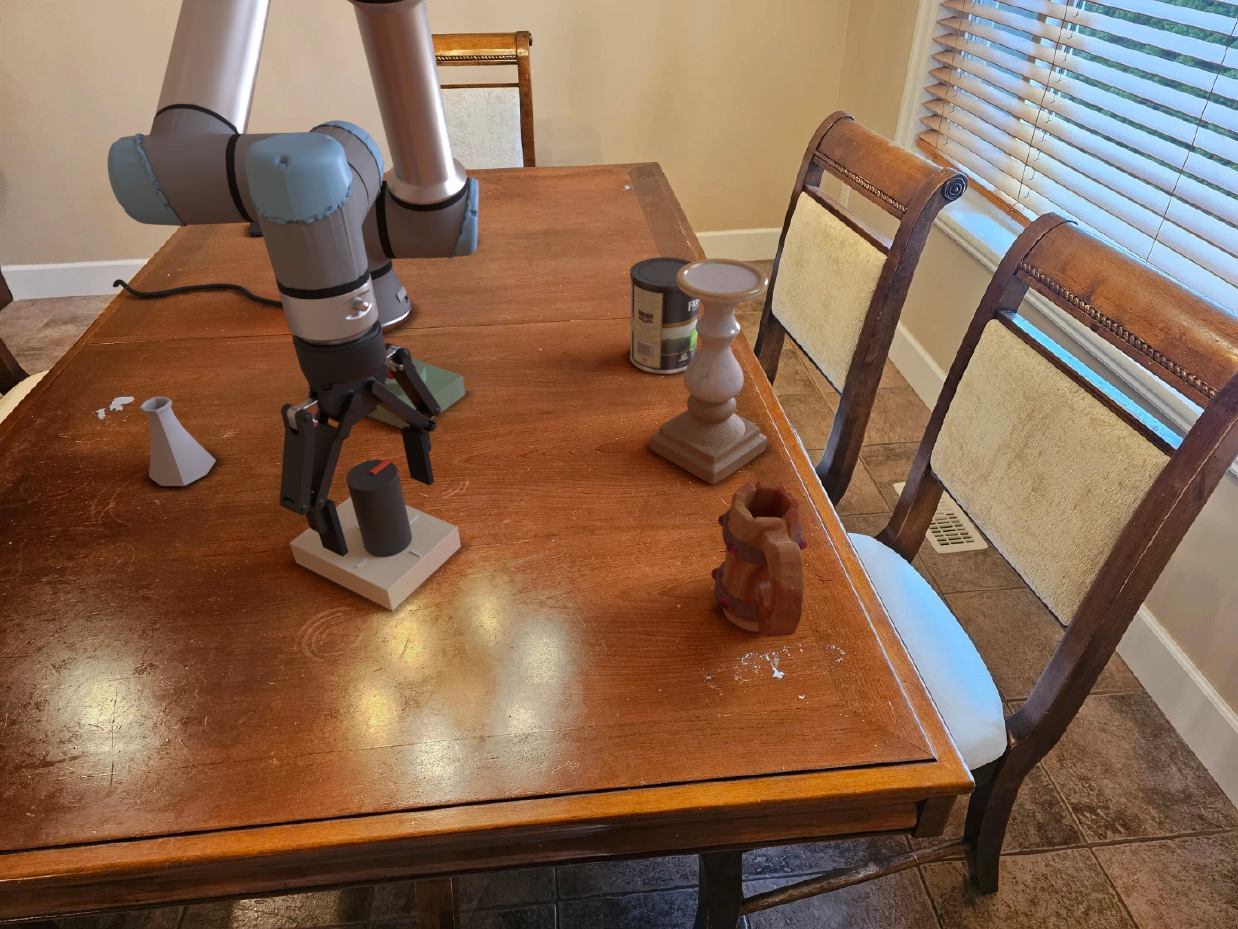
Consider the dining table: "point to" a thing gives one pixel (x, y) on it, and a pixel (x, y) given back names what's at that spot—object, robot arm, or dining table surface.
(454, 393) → the block
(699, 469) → the candle holder
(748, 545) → the mug
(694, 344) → the coffee can
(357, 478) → the knob
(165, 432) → the flask
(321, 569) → the dial panel
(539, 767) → the dining table surface
